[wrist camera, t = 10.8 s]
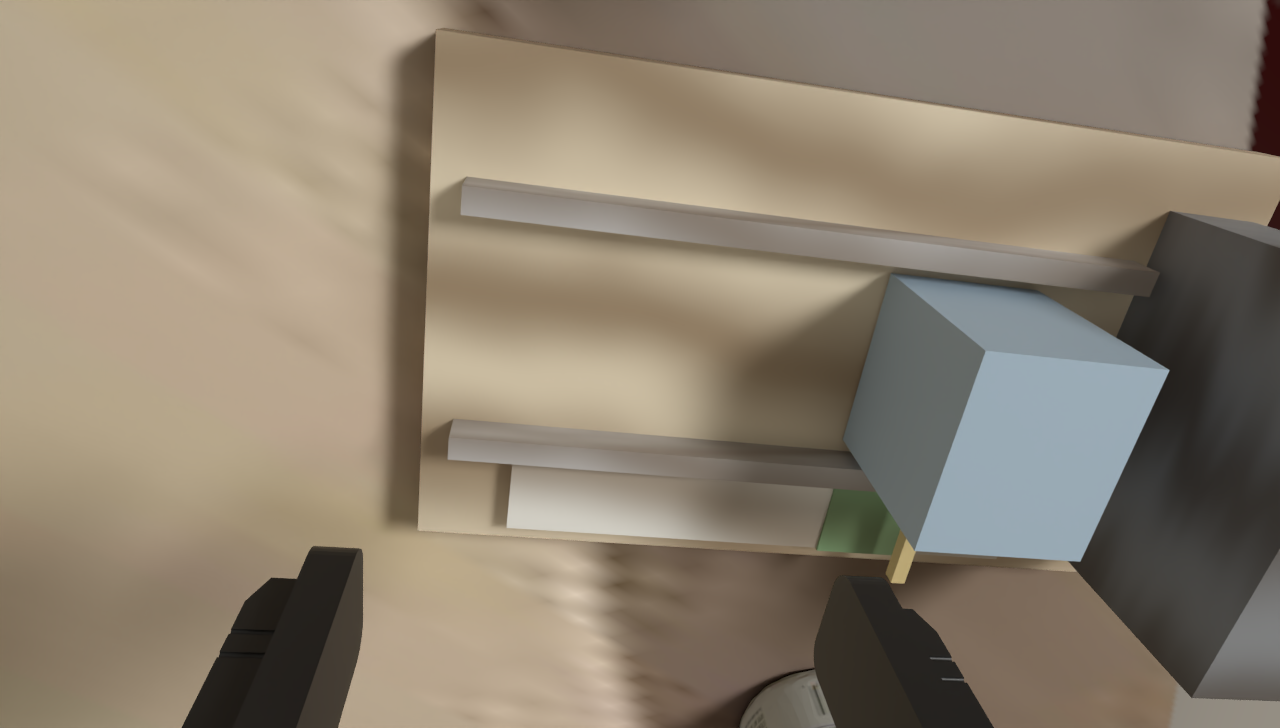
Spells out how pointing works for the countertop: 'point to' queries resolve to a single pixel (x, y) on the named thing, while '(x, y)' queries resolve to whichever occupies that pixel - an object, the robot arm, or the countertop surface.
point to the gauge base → (829, 320)
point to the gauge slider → (994, 420)
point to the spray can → (789, 705)
